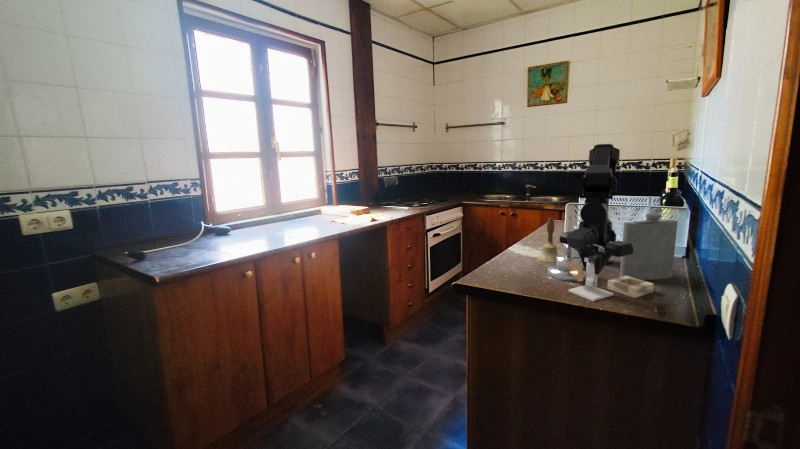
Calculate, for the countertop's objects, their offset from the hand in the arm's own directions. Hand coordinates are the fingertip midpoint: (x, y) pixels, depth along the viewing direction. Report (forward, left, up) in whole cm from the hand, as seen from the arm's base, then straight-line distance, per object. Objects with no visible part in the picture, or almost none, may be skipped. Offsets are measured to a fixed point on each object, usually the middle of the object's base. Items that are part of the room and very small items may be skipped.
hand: (591, 272), depth 102 cm
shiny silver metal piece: (0, 0, -4) cm, 4 cm away
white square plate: (0, 0, -6) cm, 6 cm away
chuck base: (-7, -14, -6) cm, 17 cm away
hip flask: (-25, 0, -6) cm, 26 cm away
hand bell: (-15, -29, -6) cm, 33 cm away
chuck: (-4, -10, -4) cm, 11 cm away
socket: (-11, +4, -6) cm, 13 cm away
